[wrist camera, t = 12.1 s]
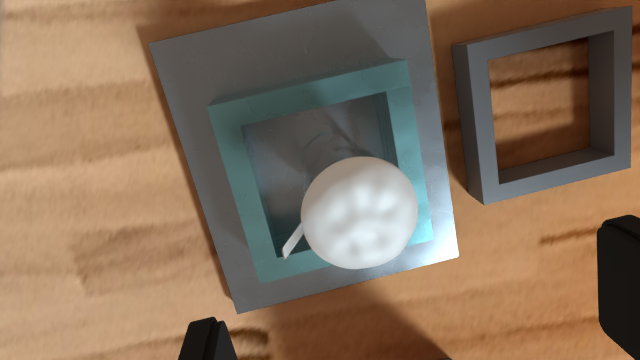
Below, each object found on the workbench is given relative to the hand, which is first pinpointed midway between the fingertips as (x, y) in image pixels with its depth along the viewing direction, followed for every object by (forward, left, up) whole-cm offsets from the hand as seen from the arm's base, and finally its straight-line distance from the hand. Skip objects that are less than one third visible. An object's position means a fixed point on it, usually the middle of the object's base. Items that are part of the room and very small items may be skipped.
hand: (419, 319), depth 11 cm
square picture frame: (-12, 0, -16) cm, 20 cm away
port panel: (+1, 0, -16) cm, 16 cm away
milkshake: (0, 0, -15) cm, 15 cm away
